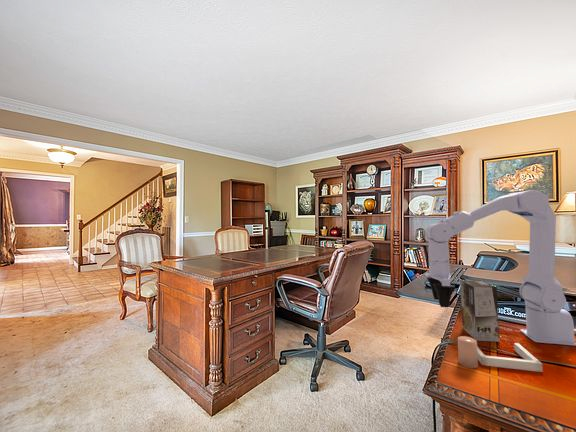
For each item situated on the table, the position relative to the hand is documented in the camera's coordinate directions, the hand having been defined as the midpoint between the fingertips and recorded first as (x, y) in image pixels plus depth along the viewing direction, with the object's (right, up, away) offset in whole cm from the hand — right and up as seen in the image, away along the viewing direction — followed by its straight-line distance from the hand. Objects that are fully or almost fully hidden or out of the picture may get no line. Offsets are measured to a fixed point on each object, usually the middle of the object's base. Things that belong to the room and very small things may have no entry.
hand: (440, 302), depth 82 cm
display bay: (+6, -9, -16) cm, 19 cm away
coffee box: (+11, -9, -3) cm, 14 cm away
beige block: (-4, -9, -18) cm, 20 cm away
